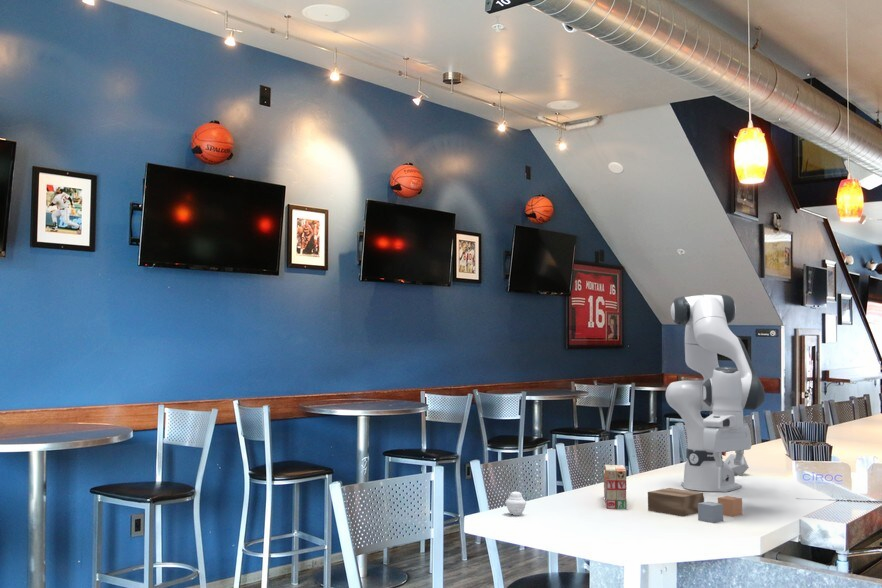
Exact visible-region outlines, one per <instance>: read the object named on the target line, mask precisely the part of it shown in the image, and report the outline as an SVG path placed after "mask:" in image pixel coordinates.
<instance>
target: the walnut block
mask: <svg viewBox="0 0 882 588" xmlns="http://www.w3.org/2000/svg"><path fill="white" fill-rule="evenodd" d="M703 496H704V492H702V491H700V492H699V491H695V490H688V489H681V488H680V489H678V488H672V487H668V488H662V489H657V490H652V491H651V490H650V491H647V511H648V512H652V513H653V512H654V513H658V514H665V515H671V516H676V517H682V518H683V517H686V516H687V517H688V516H690V515H695V514H698V503H702V502H705V498H704V499H703Z"/></svg>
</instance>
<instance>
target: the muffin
mask: <svg viewBox="0 0 882 588" xmlns="http://www.w3.org/2000/svg"><path fill="white" fill-rule="evenodd" d="M505 505H506V508H507V510H508V513H509V514H513V515H519V516H521V515H522V514H523V512H524V511H525V508H526V505H527V502H526V500H525V499H524V498H523V495H522V493H521V492H519V491H516V490H515V491H512V492H510V494H509V496H508V498H507V499H506V500H505ZM520 514H521V515H520ZM513 515H512V516H513Z"/></svg>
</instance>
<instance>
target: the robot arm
mask: <svg viewBox="0 0 882 588" xmlns="http://www.w3.org/2000/svg"><path fill="white" fill-rule="evenodd" d="M736 312H737V305H736V303H735V300H734V298H733V297H731V296H730V295H727V294H720V295H718V294H701V295H698V294H697V295H691V296H684V295H683V296H679V297H676V298H675V299H673V301H672V304H671V306H670V316H671V318H672V320H673V323H674V324H675V325H677V326H682V327H684V355H685V356H684V360H685V361H684V362H685V364H686V366H687V367H688V368H690V369H691V370H692V371H695V372H697V373H698V374H700V375H702V377H703V380H688V379H687V380H678V381H673V382H670V383H669V384H668V386H667V388H666V390H665V399H666V403H667V404H668V406H669V407H671V408H672V409H673V410H674V411H676V413H677V414H678V415H679V416H680V417H681V419H682V421H683V424H684V426H685V431H686V440H687V443H686V445H687V448H686V449H685V450H686V451H685V455H686V456H685V457H686V462H685V463H684V469H683V481H681V482H680V483H681V484H680V485H681V486H683V488H684V489H685V490H690V491H697V492H699V491H700V492H723V493H727V492H730V491H734V490H737V489H741V488H743V485H742V484H741V483H736V480H735V478H736V477H735V475H734V472H733V470H732V469H731V468H730V467H729V466H728V465H727V464H726V463H725V462H724V461H725V460H723V459H724V458H723V457H726V455H727V452H735V453H734V454H735V455H736V457H735V459H734V465H741V464H742V457H743V455H744V456H745V453H744V452H745V451H748V450H751V448H752V434H751V428H750V427H749V423H748V422H747V420H746V419H744V410H748V411H749V410H750V411H755V410H758V408H759V407H761V406H762V405H763V403H764V402H765V396H766V394H765V390H764V386H763V383H762V382H761V380H760V378H759V377H758V375H757V373H756V370H755V367H754V365H753V363H752V361H751V358H750V356H749V353H748V350H747V349H746V346H745V344H744V342H743V341H742V338H741V337H739V336H738V335H736V334H734V333H733V332H732V331H731V329H730V327H729V325H728V324H731V323H732V322H733V321H734V320H735V316H736ZM718 355H721V356H724V357H727V358H728V359H730V360H732V362H734V364H735V366H736V367H733V366H720V365H719V362H718V361H719V360H718ZM705 411H707V412H709V411H710V412H712V413H711V414H710V415H709V416H706V417H705V418H704V417H702V415H701V412H705Z"/></svg>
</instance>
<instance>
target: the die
mask: <svg viewBox="0 0 882 588" xmlns="http://www.w3.org/2000/svg"><path fill="white" fill-rule="evenodd" d="M735 457H736V454H735V453H734V454H733V453H732V454H729V455H728V457H727V458H726V459H725V460H723V461H724V462H725V463H726V464H727V465H728V466H729V467H730V468H731V469H732V470H733V472H734V476H737V475H739V476H738V477H742V476H743V475H744V474H745V473H746V471H748V469H749V468H750V467H749V465H748V463H747V460H746V458H745V454H744V455H743V457H742V464H741V465H734V459H735Z"/></svg>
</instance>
